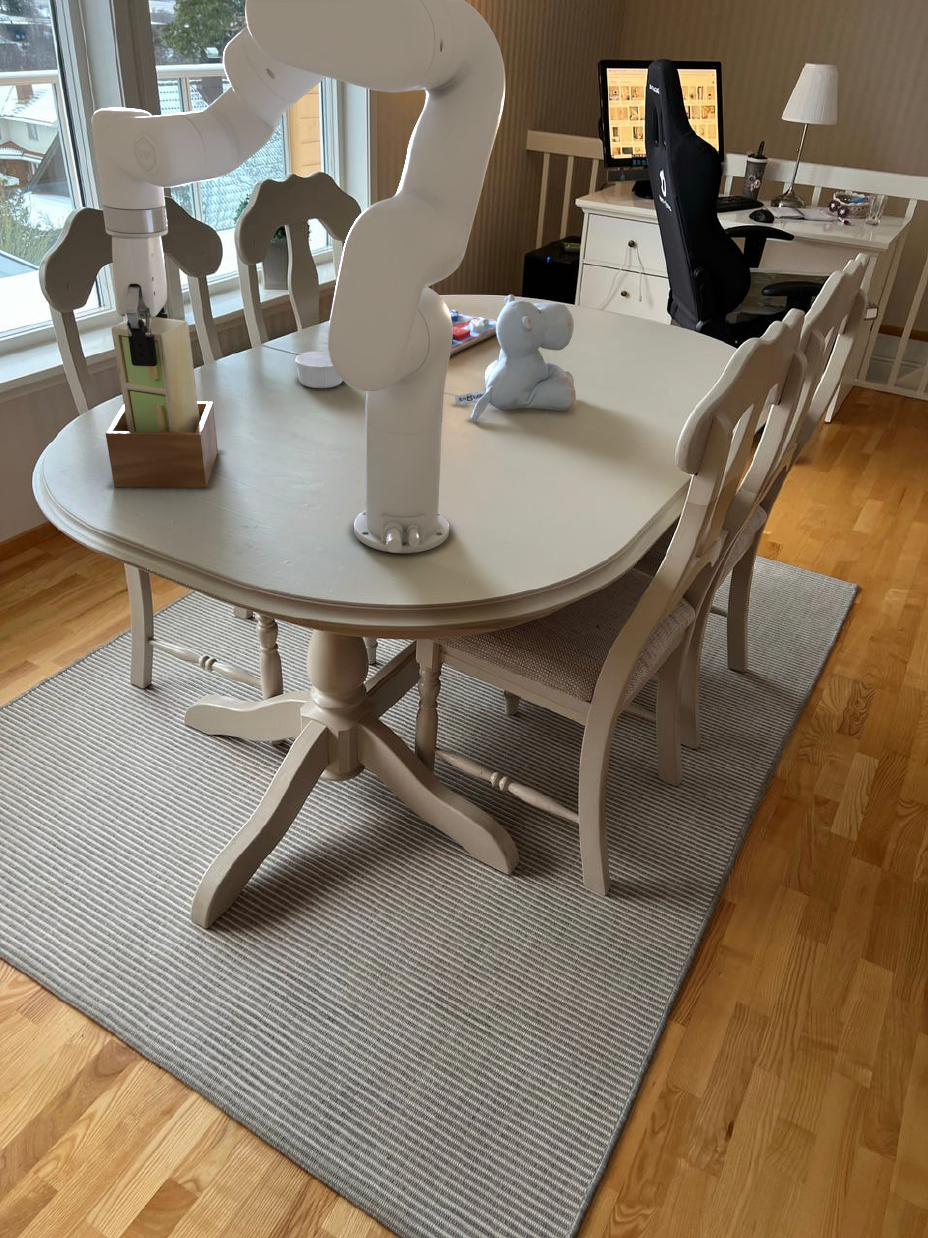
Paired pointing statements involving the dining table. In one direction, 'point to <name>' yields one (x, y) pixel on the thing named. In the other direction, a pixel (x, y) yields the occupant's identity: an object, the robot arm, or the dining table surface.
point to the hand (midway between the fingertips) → (151, 353)
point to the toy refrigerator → (159, 380)
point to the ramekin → (317, 370)
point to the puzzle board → (469, 330)
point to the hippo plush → (527, 360)
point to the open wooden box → (163, 454)
